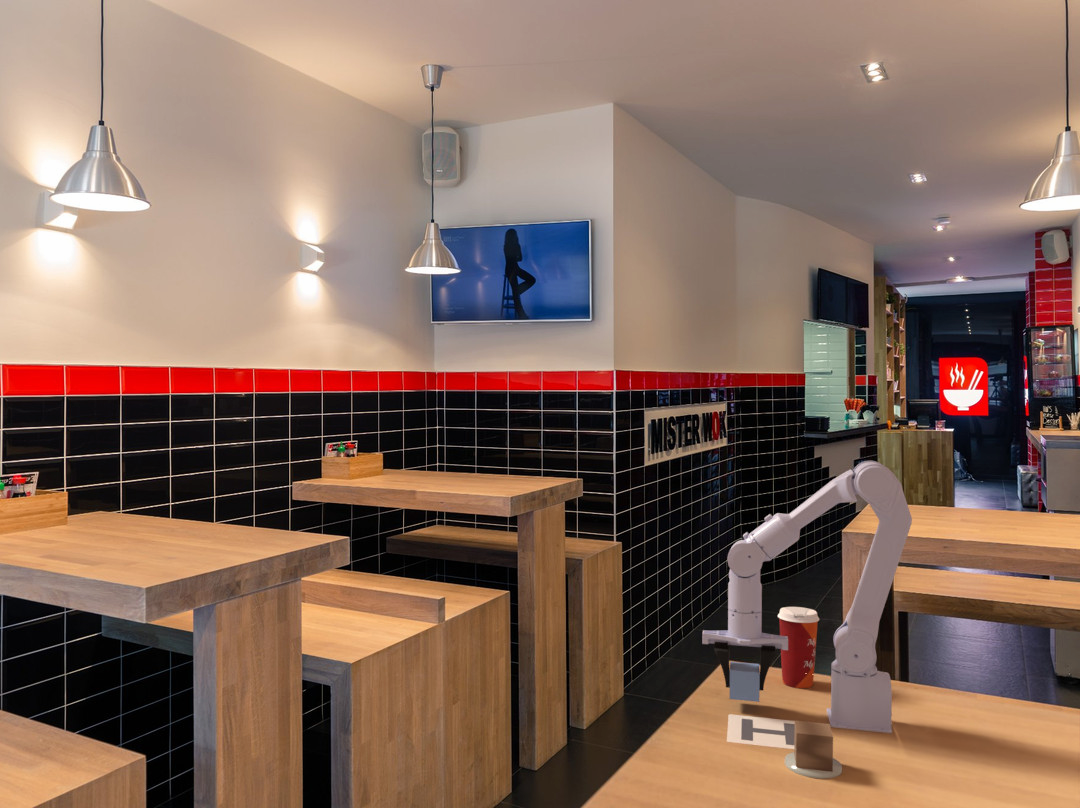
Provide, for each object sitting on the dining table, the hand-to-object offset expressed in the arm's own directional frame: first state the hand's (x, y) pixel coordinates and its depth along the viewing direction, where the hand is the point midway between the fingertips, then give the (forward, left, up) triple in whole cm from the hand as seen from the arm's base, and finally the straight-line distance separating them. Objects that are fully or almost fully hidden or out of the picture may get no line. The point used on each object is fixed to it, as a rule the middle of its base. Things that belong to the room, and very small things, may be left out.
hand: (744, 687), depth 143 cm
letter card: (-4, +10, -4) cm, 11 cm away
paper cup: (-10, -17, -4) cm, 20 cm away
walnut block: (-10, +21, -3) cm, 24 cm away
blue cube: (0, 0, -2) cm, 2 cm away
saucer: (-10, +21, -4) cm, 24 cm away
